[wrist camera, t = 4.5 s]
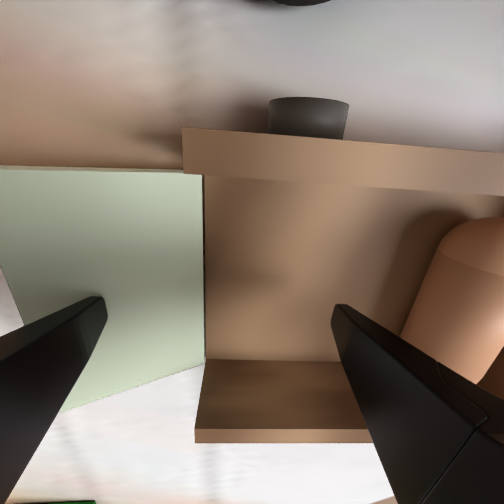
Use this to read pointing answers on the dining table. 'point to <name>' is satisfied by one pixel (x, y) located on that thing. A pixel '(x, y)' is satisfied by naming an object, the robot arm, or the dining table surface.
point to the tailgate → (110, 264)
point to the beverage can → (300, 2)
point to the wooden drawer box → (316, 261)
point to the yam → (462, 300)
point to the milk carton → (76, 503)
